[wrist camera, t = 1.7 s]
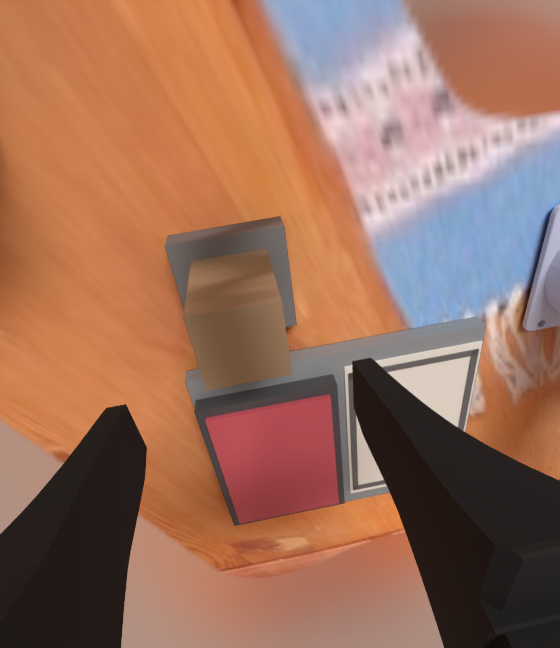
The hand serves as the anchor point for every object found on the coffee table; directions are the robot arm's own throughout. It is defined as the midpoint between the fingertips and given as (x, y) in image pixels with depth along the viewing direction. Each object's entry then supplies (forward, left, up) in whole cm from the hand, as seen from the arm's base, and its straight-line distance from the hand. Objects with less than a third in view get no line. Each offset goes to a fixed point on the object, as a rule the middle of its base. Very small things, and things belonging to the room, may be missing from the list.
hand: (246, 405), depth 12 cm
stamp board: (-5, +13, -10) cm, 17 cm away
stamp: (0, 0, -10) cm, 10 cm away
